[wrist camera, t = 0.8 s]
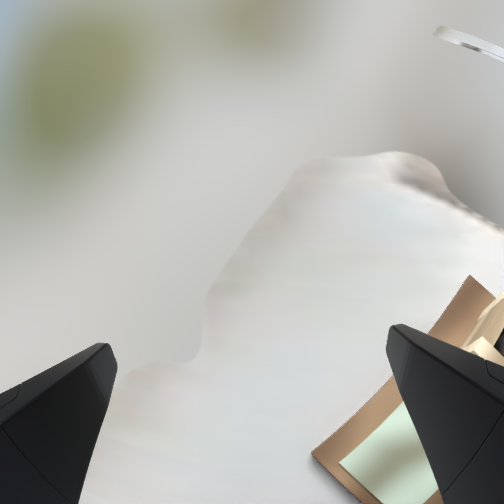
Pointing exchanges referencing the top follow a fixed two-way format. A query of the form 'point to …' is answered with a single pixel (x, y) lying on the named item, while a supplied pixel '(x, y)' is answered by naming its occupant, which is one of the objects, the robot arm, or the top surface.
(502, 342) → the post
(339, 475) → the board
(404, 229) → the top surface
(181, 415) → the top surface
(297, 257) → the top surface
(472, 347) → the collar
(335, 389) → the top surface
